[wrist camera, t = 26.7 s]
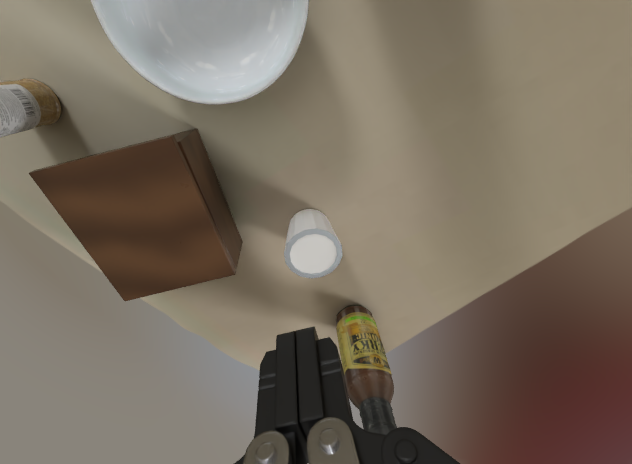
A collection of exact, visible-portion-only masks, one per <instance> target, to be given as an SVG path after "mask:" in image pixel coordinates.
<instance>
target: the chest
mask: <svg viewBox="0 0 632 464" xmlns="http://www.w3.org/2000/svg"><path fill="white" fill-rule="evenodd" d="M173 135H174V136H175V139H176V141H177V143H178V145H179V147H180V149H181V152H182V154H183V156H184V158H185V160H186V163H187V165H188V167H189V169H190V171H191V173H192V176H193V178H194V180H195V182H196V184H197V187H198V189H199V191H200V193H201V195H202V197H203V200H204V202H205V204H206V206H207V208H208V211H209V213H210V215H211V217H212V219H213V221H214V224H215V226H216V228H217V230H218V232H219V235H220V237H221V239H222V241H223V243H224V245H225V248H226V250H227V252H228V254H229V256H230V259H231V261H232V263H233V265H234V267H235V269H236V268H237V264H238V259H239V255H240V251H241V246H242V239H241V237H240V234H239V232H238V229H237V227H236V224H235V222H234V219H233V217H232V214H231V212H230V209H229V207H228V204H227V202H226V199H225V197H224V194H223V192H222V189H221V187H220V184H219V182H218V179H217V177H216V174H215V172H214V169H213V167H212V164H211V162H210V159H209V157H208V154H207V152H206V149H205V147H204V144H203V142H202V139H201V137H200V134H199V132H198V129H193V130H189V131H185V132H181V133H177V134H173Z"/></svg>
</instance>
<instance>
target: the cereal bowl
mask: <svg viewBox="0 0 632 464" xmlns="http://www.w3.org/2000/svg"><path fill="white" fill-rule="evenodd" d="M91 3H92V5H93V8H94V10H95V13H96V15H97V17H98V20H99V22H100V24H101V26H102V28H103V30H104V32H105V33H106V35H107V37H108V38H109V40H110V41H111V43H112V44H113V46H114V47H115V48H116V50H117V51H118V52H119V54H120V55H121V56H122V57H123V58H124V59H125V61H126V62H127V63H128V64H129V65H130V66H131V67H132V68H133V69H134V70H135V71H136V72H138V73H139V74H140V75H141V76H142V77H143V78H145V79H146V80H147V81H149V82H150V83H152V84H153V85H154V86H156V87H158V88H159V89H161V90H163V91H165V92H166V93H169V94H171V95H173V96H175V97H178V98H180V99H183V100H187V101H190V102H195V103H200V104H210V105H213V104H228V103H234V102H239V101H243V100H245V99H249V98H250V97H253V96H255V95H256V94H259V93H260V92H262V91H264V90H265V89H266V88H268V87H269V86H270V85H272V84H273V83H274V82H275V81H276V80H277V79H278V78H279V77H280V76H281V74H282V73H284V71H285V69H286V68H287V67H288V66H289V64H290V63H291V61H292V59H293V57H294V56H295V53H296V52H297V50H298V47H299V45H300V42H301V39H302V37H303V33H304V30H305V25H306V20H307V16H308V4H309V0H91Z"/></svg>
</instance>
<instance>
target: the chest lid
mask: <svg viewBox="0 0 632 464" xmlns="http://www.w3.org/2000/svg"><path fill="white" fill-rule="evenodd" d="M29 174H30V176H31V177H32V178H33V180H34V181H35V182H36V184H37V185H38V186H39V188H40V189H41V190H42V192H43V193H44V194H45V196H46V197H47V198H48V200H49V201H50V202H51V204H52V205H53V206H54V208H55V209H56V210H57V212H58V213H59V214H60V216H61V217H62V218H63V220H64V221H65V222H66V224H67V225H68V226H69V228H70V229H71V230H72V232H73V233H74V234H75V236H76V237H77V238H78V240H79V241H80V242H81V244H82V245H83V246H84V248H85V249H86V250H87V252H88V253H89V254H90V256H91V257H92V258H93V260H94V261H95V262H96V264H97V265H98V266H99V268H100V269H101V270H102V272H103V273H104V274H105V276H106V277H107V278H108V279H109V281H110V282H111V283H112V285H113V286H114V288H115V289H116V290H117V292H118V293H119V294H120V296H121V297H122V298H123V300H124V301H128V300H132V299H136V298H140V297H145V296H149V295H153V294H157V293H161V292H165V291H169V290H173V289H177V288H182V287H186V286H190V285H194V284H198V283H202V282H206V281H210V280H215V279H219V278H223V277H227V276H231V275H235V273H236V269H235V267H234V265H233V263H232V261H231V259H230V256H229V254H228V252H227V250H226V248H225V245H224V243H223V241H222V239H221V237H220V235H219V232H218V230H217V228H216V226H215V224H214V221H213V219H212V217H211V215H210V213H209V211H208V208H207V206H206V204H205V202H204V200H203V197H202V195H201V193H200V191H199V189H198V187H197V184H196V182H195V180H194V178H193V176H192V173H191V171H190V169H189V167H188V165H187V163H186V160H185V158H184V156H183V154H182V152H181V149H180V147H179V145H178V143H177V141H176V139H175V136H174V135H169V136H165V137H162V138H158V139H154V140H150V141H146V142H142V143H138V144H134V145H130V146H127V147H123V148H119V149H115V150H111V151H107V152H103V153H99V154H95V155H92V156H88V157H84V158H80V159H76V160H72V161H68V162H64V163H61V164H57V165H53V166H49V167H45V168H41V169H37V170H34V171H32V172H30V173H29Z"/></svg>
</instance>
